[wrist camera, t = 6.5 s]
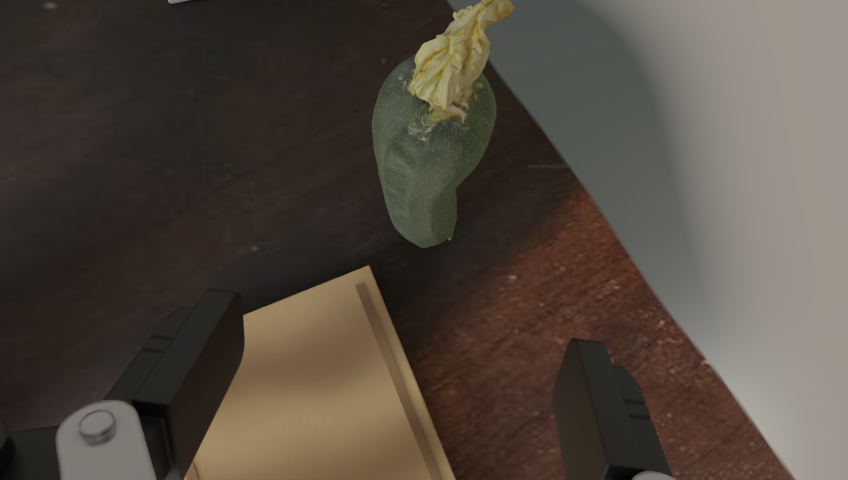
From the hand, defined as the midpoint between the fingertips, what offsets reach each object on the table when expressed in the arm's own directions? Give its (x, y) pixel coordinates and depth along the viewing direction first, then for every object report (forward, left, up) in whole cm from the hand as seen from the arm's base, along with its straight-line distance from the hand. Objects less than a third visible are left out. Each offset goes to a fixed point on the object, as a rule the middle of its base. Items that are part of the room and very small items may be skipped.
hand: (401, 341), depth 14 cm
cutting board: (+3, -6, -18) cm, 19 cm away
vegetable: (-7, +4, -18) cm, 20 cm away
